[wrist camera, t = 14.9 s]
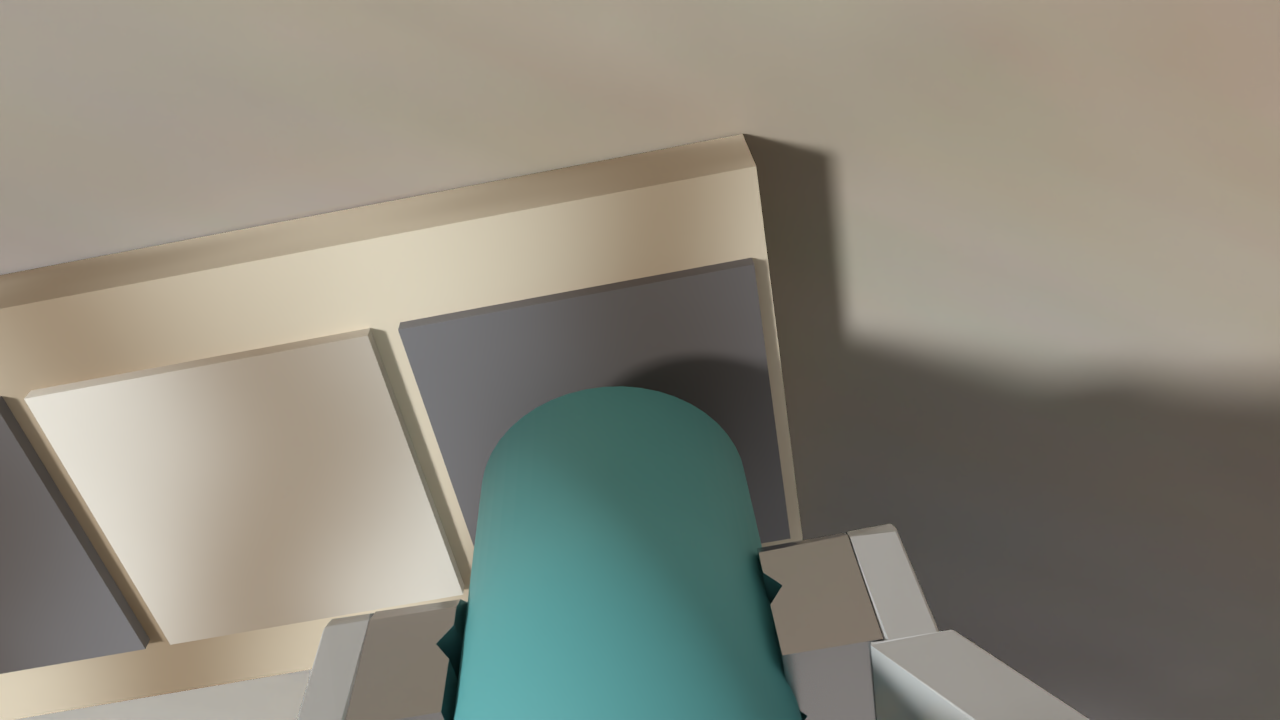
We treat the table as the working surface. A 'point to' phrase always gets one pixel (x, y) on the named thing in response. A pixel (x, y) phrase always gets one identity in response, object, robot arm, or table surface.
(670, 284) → the board
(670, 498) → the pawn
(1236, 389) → the table surface
